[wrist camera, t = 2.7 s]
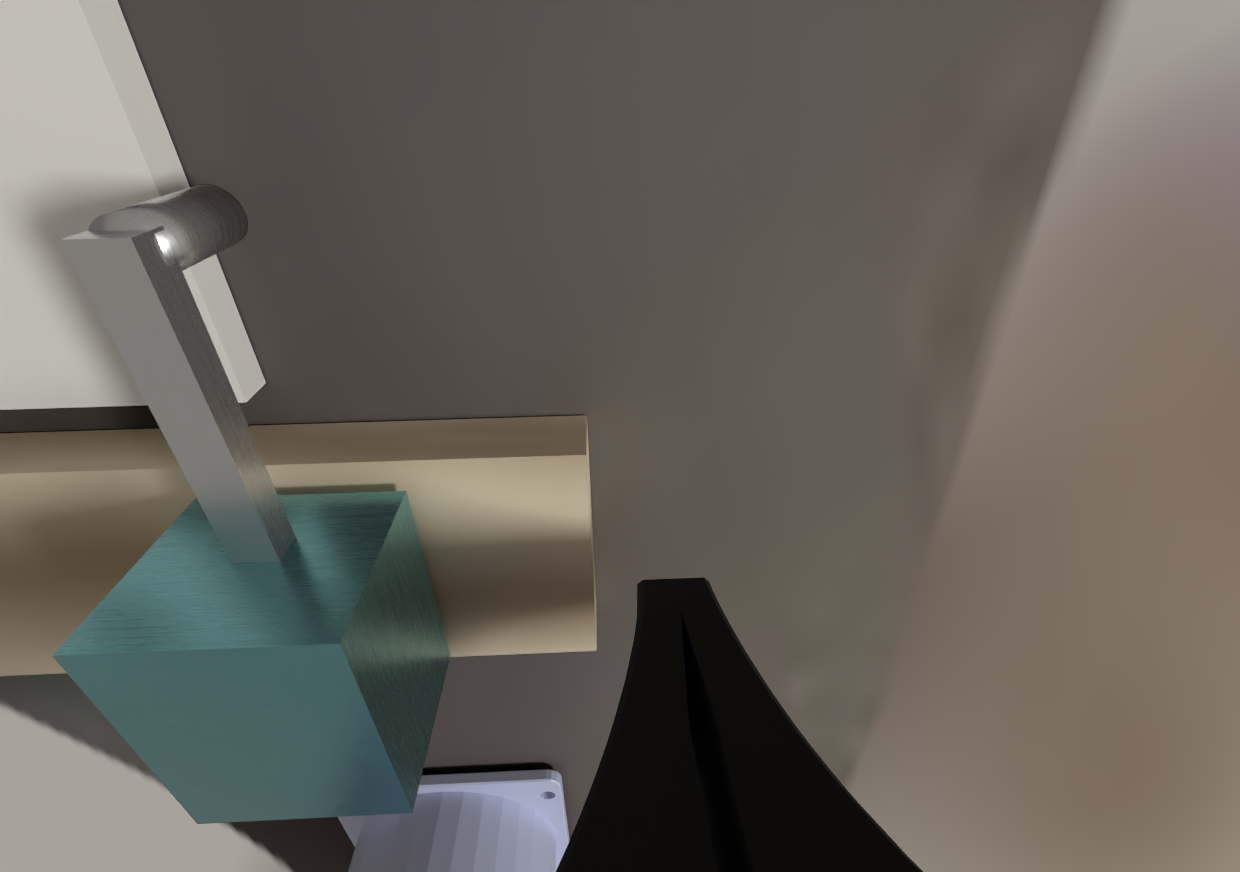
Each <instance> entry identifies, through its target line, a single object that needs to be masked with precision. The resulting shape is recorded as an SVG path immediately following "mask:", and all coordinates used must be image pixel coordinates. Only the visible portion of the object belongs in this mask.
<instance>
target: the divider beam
mask: <svg viewBox="0 0 1240 872" xmlns="http://www.w3.org/2000/svg"><path fill="white" fill-rule="evenodd" d="M249 429H250V431H251V433H252V436H253V438H254V440H255V443H256V445H257V447H258V450H259V452H260V454H261V457H262V459H263V461H264V464H265V466H266V468H267V471H268V473H269V475H270V478H271V480H272V483H273V485H274V487H275V490H276V492H277V494H278V495H298V494H327V493H356V492H385V491H406V492H407V495H408V499H409V503H410V507H411V510H412V514H413V518H414V521H415V525H416V529H417V532H418V536H419V540H420V543H421V547H422V551H423V555H424V558H425V562H426V566H427V569H428V573H429V577H430V580H431V584H432V588H433V591H434V595H435V599H436V603H437V606H438V610H439V614H440V617H441V621H442V625H443V628H444V632H445V636H446V640H447V643H448V647H449V651H450V657H460V656H483V655H507V654H530V653H554V652H577V651H597V645H596V590H595V570H594V550H593V530H592V510H591V490H590V470H589V450H588V430H587V415H580V416H547V417H515V418H483V419H450V420H418V421H385V422H353V423H321V424H288V425H256V426H249ZM195 498H197V497H196V496H195V494H194V492H193V490H192V488H191V486H190V484H189V482H188V480H187V478H186V477H185V475H184V473H183V471H182V469H181V467H180V465H179V463H178V461H177V459H176V458H175V456H174V454H173V452H172V450H171V448H170V446H169V444H168V442H167V440H166V439H165V437H164V435H163V433H162V431H161V429H160V428H159V429H127V430H94V431H62V432H30V433H0V676H13V675H37V674H60V673H66V671H65V670H64V669H63V668H62V667H61V666H60V665H59V663H58V662H57V661H56V660H55V659H54V658H53V656H52V655H53V654H54V653H55V652H56V651H57V649H58V648H59V647H60V646H61V645H62V644H63V643H64V642H65V641H66V640H67V638H68V637H69V636H70V635H71V634H72V633H73V632H74V631H75V630H76V629H77V627H78V626H79V625H80V624H81V623H82V622H83V621H84V620H85V619H86V618H87V617H88V615H89V614H90V613H91V612H92V611H93V610H94V609H95V608H96V607H97V606H98V604H99V603H100V602H101V601H102V600H103V599H104V598H105V597H106V596H107V595H108V593H109V592H110V591H111V590H112V589H113V588H114V587H115V586H116V585H117V584H118V582H119V581H120V580H121V579H122V578H123V577H124V576H125V575H126V574H127V573H128V571H129V570H130V569H131V568H132V567H133V566H134V565H135V564H136V563H137V562H138V560H139V559H140V558H141V557H142V556H143V555H144V554H145V553H146V552H147V551H148V550H149V548H150V547H151V546H152V545H153V544H154V543H155V542H156V541H157V540H158V539H159V537H160V536H161V535H162V534H163V533H164V532H165V531H166V530H167V529H168V528H169V526H170V525H171V524H172V523H173V522H174V521H175V520H176V519H177V518H178V517H179V515H180V514H181V513H182V512H183V511H184V510H185V509H186V508H187V507H188V506H189V504H190V503H191V502H192V501H193V500H194V499H195Z"/></svg>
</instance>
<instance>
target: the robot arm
mask: <svg viewBox="0 0 1240 872" xmlns="http://www.w3.org/2000/svg"><path fill="white" fill-rule="evenodd" d="M338 819H339V821H340V822H341V824H342V826H343V828H344V829H345V831H346V833H347V835H348V836H349V838H350V840H351V841H352V843H353V845H354V847H355V850H354V854H353V857H352V860H351V863H350V867H349V870H348V872H923V871H922V870H921V869H920V868H919V867H918V866H917V865H916V864H915V863H914V862H913V861H912V860H911V859H910V858H909V857H908V856H907V855H906V854H905V853H904V852H903V851H902V850H901V849H900V848H899V847H898V846H897V844H896V843H895V842H894V841H893V840H892V839H891V838H890V837H889V836H888V835H887V834H886V832H885V831H884V830H883V829H882V828H881V827H880V826H879V825H878V824H877V823H876V822H875V820H874V819H873V818H872V817H871V816H870V815H869V814H868V813H867V812H866V811H865V810H864V809H863V808H862V807H861V806H860V804H859V803H858V802H857V801H856V800H855V799H854V798H853V796H852V795H851V794H850V793H849V792H848V790H847V789H846V788H845V787H844V786H843V785H842V783H841V782H840V781H839V780H838V779H837V777H836V776H835V775H834V774H833V773H832V772H831V770H830V769H829V768H828V767H827V765H826V764H825V763H824V762H823V760H822V759H821V758H820V757H819V755H818V754H817V753H816V752H815V750H814V749H813V748H812V747H811V745H810V744H809V743H808V741H807V740H806V739H805V738H804V736H803V735H802V734H801V732H800V731H799V730H798V728H797V727H796V726H795V724H794V723H793V721H792V720H791V719H790V717H789V716H788V715H787V713H786V712H785V710H784V709H783V707H782V706H781V705H780V703H779V702H778V700H777V699H776V698H775V696H774V695H773V693H772V692H771V690H770V689H769V687H768V686H767V684H766V683H765V681H764V680H763V678H762V677H761V675H760V673H759V672H758V670H757V669H756V667H755V666H754V664H753V662H752V661H751V659H750V658H749V656H748V654H747V653H746V651H745V650H744V648H743V646H742V645H741V643H740V641H739V639H738V638H737V636H736V634H735V632H734V631H733V629H732V627H731V625H730V624H729V622H728V620H727V618H726V616H725V614H724V612H723V611H722V609H721V607H720V605H719V603H718V601H717V599H716V596H715V594H714V592H713V590H712V588H711V586H710V583H709V581H707V580H706V579H705V578H682V579H655V580H643V581H641V582H640V583H638V584H637V623H636V629H635V636H634V642H633V647H632V652H631V657H630V661H629V666H628V671H627V675H626V680H625V684H624V687H623V691H622V694H621V698H620V702H619V705H618V709H617V712H616V716H615V719H614V723H613V726H612V729H611V732H610V735H609V739H608V742H607V745H606V748H605V751H604V754H603V756H602V759H601V762H600V765H599V768H598V771H597V773H596V776H595V779H594V781H593V784H592V787H591V789H590V792H589V794H588V797H587V799H586V802H585V805H584V807H583V810H582V812H581V815H580V817H579V820H578V822H577V825H576V827H575V829H574V832H573V834H572V837H571V839H569V831H568V824H567V816H566V808H565V800H564V792H563V785H562V777H561V775H560V774H559V773H558V772H557V771H555V770H551V769H541V770H520V771H499V772H479V773H458V774H437V775H422V776H421V780H420V784H419V788H418V793H417V797H416V801H415V805H414V809H413V813H404V814H384V815H365V816H345V817H338Z"/></svg>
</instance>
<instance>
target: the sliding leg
mask: <svg viewBox="0 0 1240 872" xmlns="http://www.w3.org/2000/svg"><path fill="white" fill-rule="evenodd" d="M247 230H248V220H247V216H246V213H245V211H244V209H243V207H242V206H241V204H240V203H239V202H238V200H237V199H236V198H235V197H234V196H233V195H231V194H230V193H229V192H227V191H226V190H224V189H222V188H220V187H218V186H215V185H210V184H200V185H196V186H193V187H190V188H187V189H184V190H180V191H177V192H174V193H171V194H167V195H164V196H161V197H158V198H155V199H151V200H148V201H145V202H142V203H139V204H135V205H132V206H129V207H126V208H122V209H119V210H116V211H113V212H110V213H106V214H103V215H101V216H98V217H97V218H95V219H94V220H93V221H92V223H91V224H90V226H89V229H88V231H85V232H82V233H79V234H76V235H73V236H70V237H67V238H64V239H61V241H62V243H63V245H64V247H65V249H66V251H67V252H68V254H69V256H70V258H71V260H72V262H73V264H74V266H75V268H76V270H77V271H78V273H79V275H80V277H81V279H82V281H83V283H84V285H85V287H86V289H87V290H88V292H89V294H90V296H91V298H92V300H93V302H94V304H95V306H96V308H97V309H98V311H99V313H100V315H101V317H102V319H103V321H104V323H105V325H106V327H107V328H108V330H109V332H110V334H111V336H112V338H113V340H114V342H115V344H116V346H117V347H118V349H119V351H120V353H121V355H122V357H123V359H124V361H125V363H126V364H127V366H128V368H129V370H130V372H131V374H132V376H133V378H134V380H135V382H136V383H137V385H138V387H139V389H140V391H141V393H142V395H143V397H144V399H145V401H146V402H147V404H148V406H149V408H150V410H151V412H152V414H153V416H154V418H155V420H156V421H157V423H158V425H159V427H160V429H161V431H162V433H163V435H164V437H165V439H166V440H167V442H168V444H169V446H170V448H171V450H172V452H173V454H174V456H175V458H176V459H177V461H178V463H179V465H180V467H181V469H182V471H183V473H184V475H185V477H186V478H187V480H188V482H189V484H190V486H191V488H192V490H193V492H194V494H195V496H196V497H197V498H195V499H194V500H193V501H192V502H191V503H190V504H189V506H188V507H187V508H186V509H185V510H184V511H183V512H182V513H181V514H180V515H179V517H178V518H177V519H176V520H175V521H174V522H173V523H172V524H171V525H170V526H169V528H168V529H167V530H166V531H165V532H164V533H163V534H162V535H161V536H160V537H159V539H158V540H157V541H156V542H155V543H154V544H153V545H152V546H151V547H150V548H149V550H148V551H147V552H146V553H145V554H144V555H143V556H142V557H141V558H140V559H139V560H138V562H137V563H136V564H135V565H134V566H133V567H132V568H131V569H130V570H129V571H128V573H127V574H126V575H125V576H124V577H123V578H122V579H121V580H120V581H119V582H118V584H117V585H116V586H115V587H114V588H113V589H112V590H111V591H110V592H109V593H108V595H107V596H106V597H105V598H104V599H103V600H102V601H101V602H100V603H99V604H98V606H97V607H96V608H95V609H94V610H93V611H92V612H91V613H90V614H89V615H88V617H87V618H86V619H85V620H84V621H83V622H82V623H81V624H80V625H79V626H78V627H77V629H76V630H75V631H74V632H73V633H72V634H71V635H70V636H69V637H68V638H67V640H66V641H65V642H64V643H63V644H62V645H61V646H60V647H59V648H58V649H57V651H56V652H55V653H54V654H53V655H52V656H53V658H54V659H55V660H56V661H57V662H58V663H59V665H60V666H61V667H62V668H63V669H64V670H65V671H66V673H67V674H68V675H69V676H70V677H71V678H72V680H73V681H74V682H75V683H76V684H77V685H78V686H79V688H80V689H81V690H82V691H83V692H84V693H85V695H86V696H87V697H88V698H89V699H90V700H91V701H92V703H93V704H94V705H95V706H96V707H97V708H98V710H99V711H100V712H101V713H102V714H103V715H104V716H105V718H106V719H107V720H108V721H109V722H110V723H111V725H112V726H113V727H114V728H115V729H116V730H117V731H118V733H119V734H120V735H121V736H122V737H123V738H124V740H125V741H126V742H127V743H128V744H129V745H130V746H131V748H132V749H133V750H134V751H135V752H136V753H137V755H138V756H139V757H140V758H141V759H142V760H143V761H144V763H145V764H146V765H147V766H148V767H149V768H150V770H151V771H152V772H153V773H154V774H155V775H156V776H157V778H158V779H159V780H160V781H161V782H162V783H163V784H164V786H165V787H166V788H167V789H168V790H169V791H170V793H171V794H172V795H173V796H174V797H175V798H176V799H177V801H178V802H179V803H180V804H181V805H182V806H183V808H184V809H185V810H186V811H187V812H188V813H189V814H190V816H191V817H192V818H193V819H194V820H195V821H196V822H197V824H204V823H225V822H245V821H265V820H285V819H305V818H325V817H345V816H365V815H384V814H404V813H413V809H414V805H415V801H416V797H417V793H418V788H419V784H420V780H421V776H422V772H423V768H424V763H425V759H426V755H427V751H428V747H429V742H430V738H431V734H432V730H433V726H434V721H435V717H436V713H437V709H438V705H439V700H440V696H441V692H442V688H443V684H444V679H445V675H446V671H447V667H448V663H449V659H450V651H449V647H448V643H447V640H446V636H445V632H444V628H443V625H442V621H441V617H440V614H439V610H438V606H437V603H436V599H435V595H434V591H433V588H432V584H431V580H430V577H429V573H428V569H427V566H426V562H425V558H424V555H423V551H422V547H421V543H420V540H419V536H418V532H417V529H416V525H415V521H414V518H413V514H412V510H411V507H410V503H409V499H408V495H407V492H406V491H385V492H356V493H327V494H298V495H278V494H277V492H276V490H275V487H274V485H273V483H272V480H271V478H270V475H269V473H268V471H267V468H266V466H265V464H264V461H263V459H262V457H261V454H260V452H259V450H258V447H257V445H256V443H255V440H254V438H253V436H252V433H251V431H250V429H249V426H248V424H247V422H246V419H245V417H244V415H243V412H242V410H241V408H240V405H239V403H238V401H237V398H236V396H235V393H234V391H233V389H232V386H231V384H230V382H229V379H228V377H227V375H226V372H225V370H224V368H223V365H222V363H221V361H220V358H219V356H218V354H217V351H216V349H215V347H214V344H213V342H212V340H211V337H210V335H209V333H208V330H207V328H206V326H205V323H204V321H203V319H202V316H201V314H200V311H199V309H198V307H197V304H196V302H195V300H194V297H193V295H192V293H191V290H190V288H189V286H188V283H187V281H186V279H185V276H184V274H183V272H182V271H183V270H185V269H187V268H189V267H191V266H193V265H195V264H197V263H199V262H201V261H203V260H205V259H207V258H209V257H211V256H213V255H215V254H217V253H219V252H221V251H223V250H225V249H227V248H229V247H231V246H233V245H235V244H237V243H238V242H240V241H241V240H242V239H243V238H244V237H245V235H246V233H247Z"/></svg>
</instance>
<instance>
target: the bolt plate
mask: <svg viewBox="0 0 1240 872" xmlns="http://www.w3.org/2000/svg"><path fill="white" fill-rule="evenodd" d="M187 188H190V186H189V184H188V181H187V179H186V176H185V174H184V171H183V168H182V166H181V163H180V161H179V158H178V156H177V153H176V150H175V148H174V145H173V143H172V140H171V138H170V135H169V132H168V130H167V127H166V125H165V122H164V120H163V117H162V114H161V112H160V109H159V107H158V104H157V102H156V99H155V96H154V94H153V91H152V89H151V86H150V84H149V81H148V78H147V76H146V73H145V71H144V68H143V66H142V63H141V60H140V58H139V55H138V53H137V50H136V48H135V45H134V42H133V40H132V37H131V35H130V32H129V29H128V27H127V24H126V22H125V19H124V17H123V14H122V11H121V9H120V6H119V4H118V1H117V0H0V410H9V409H43V408H76V407H110V406H143V405H148V404H147V402H146V401H145V399H144V397H143V395H142V393H141V391H140V389H139V387H138V385H137V383H136V382H135V380H134V378H133V376H132V374H131V372H130V370H129V368H128V366H127V364H126V363H125V361H124V359H123V357H122V355H121V353H120V351H119V349H118V347H117V346H116V344H115V342H114V340H113V338H112V336H111V334H110V332H109V330H108V328H107V327H106V325H105V323H104V321H103V319H102V317H101V315H100V313H99V311H98V309H97V308H96V306H95V304H94V302H93V300H92V298H91V296H90V294H89V292H88V290H87V289H86V287H85V285H84V283H83V281H82V279H81V277H80V275H79V273H78V271H77V270H76V268H75V266H74V264H73V262H72V260H71V258H70V256H69V254H68V252H67V251H66V249H65V247H64V245H63V243H62V241H61V239H64V238H67V237H70V236H73V235H76V234H79V233H82V232H85V231H88V229H89V226H90V224H91V223H92V221H93V220H94V219H95V218H97V217H98V216H101V215H103V214H106V213H110V212H113V211H116V210H119V209H122V208H126V207H129V206H132V205H135V204H139V203H142V202H145V201H148V200H151V199H155V198H158V197H161V196H164V195H167V194H171V193H174V192H177V191H180V190H184V189H187ZM182 272H183V274H184V276H185V279H186V281H187V283H188V286H189V288H190V290H191V293H192V295H193V297H194V300H195V302H196V304H197V307H198V309H199V311H200V314H201V316H202V319H203V321H204V323H205V326H206V328H207V330H208V333H209V335H210V337H211V340H212V342H213V344H214V347H215V349H216V351H217V354H218V356H219V358H220V361H221V363H222V365H223V368H224V370H225V372H226V375H227V377H228V379H229V382H230V384H231V386H232V389H233V391H234V393H235V396H236V398H237V401H238V403H244V402H247V401H248V400H249V399H250V398H251V397H252V396H253V395H254V394H255V393H256V392H257V391H258V390H259V389H260V388H261V387H262V386H263V385H264V384H265V383H266V382H265V379H264V377H263V374H262V372H261V369H260V367H259V364H258V361H257V359H256V356H255V354H254V351H253V348H252V346H251V343H250V341H249V338H248V336H247V333H246V330H245V328H244V325H243V323H242V320H241V318H240V315H239V312H238V310H237V307H236V305H235V302H234V300H233V297H232V294H231V292H230V289H229V287H228V284H227V282H226V279H225V276H224V274H223V271H222V269H221V266H220V264H219V261H218V258H217V256H216V254H215V255H213V256H211V257H209V258H207V259H205V260H203V261H201V262H199V263H197V264H195V265H193V266H191V267H189V268H187V269H185V270H183V271H182Z"/></svg>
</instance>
